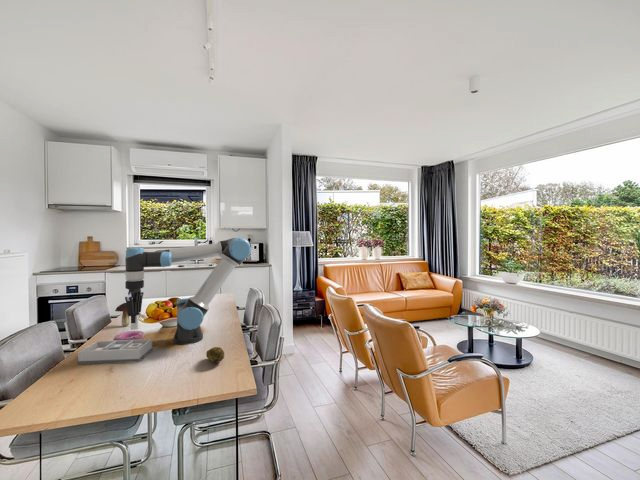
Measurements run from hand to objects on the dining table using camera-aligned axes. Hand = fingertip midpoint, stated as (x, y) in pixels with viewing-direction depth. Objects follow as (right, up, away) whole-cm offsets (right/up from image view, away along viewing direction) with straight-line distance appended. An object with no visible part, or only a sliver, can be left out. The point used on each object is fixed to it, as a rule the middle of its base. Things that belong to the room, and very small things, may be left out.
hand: (134, 329), depth 143 cm
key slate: (-8, -10, -1) cm, 13 cm away
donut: (-14, -13, +18) cm, 26 cm away
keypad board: (-8, -13, -1) cm, 15 cm away
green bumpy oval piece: (+41, -14, -7) cm, 44 cm away
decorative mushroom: (-35, -13, +47) cm, 61 cm away
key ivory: (0, -10, 0) cm, 10 cm away
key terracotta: (-16, -12, -2) cm, 20 cm away
